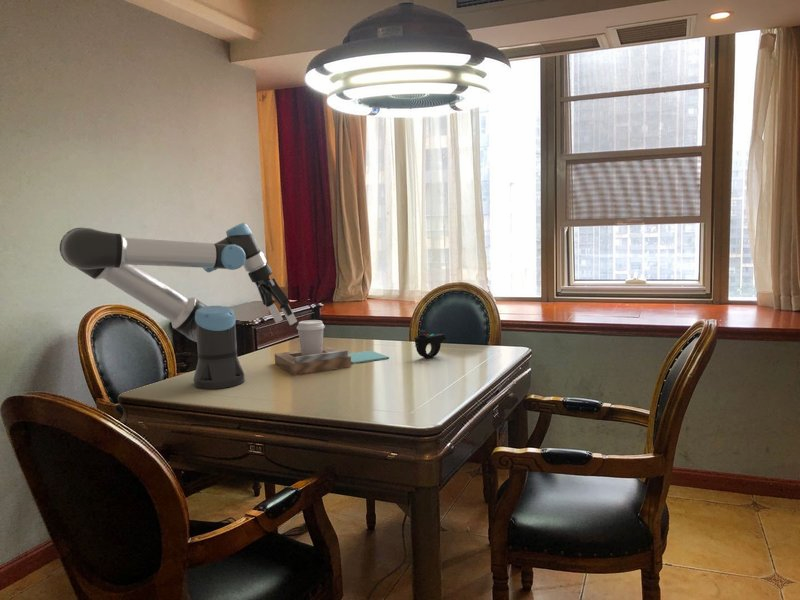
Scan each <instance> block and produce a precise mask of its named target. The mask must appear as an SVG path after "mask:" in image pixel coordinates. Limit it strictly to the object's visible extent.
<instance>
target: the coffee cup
mask: <svg viewBox="0 0 800 600" xmlns="http://www.w3.org/2000/svg"><path fill="white" fill-rule="evenodd" d="M325 328H326V326H325V324H324V323H323V320H319V319H309V320H301V321H299V322H298V324H297V326H296V330H297V331H298V332H297V334H298V339H299V346H300V350H301V355H302V356H305V355H312V354H320V353H322V351H323V347H324V346H323V344H324V329H325Z"/></svg>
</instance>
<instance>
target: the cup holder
mask: <svg viewBox="0 0 800 600" xmlns="http://www.w3.org/2000/svg"><path fill="white" fill-rule="evenodd" d="M348 354H349V353H348V350H347V349H342V350H336V349H334V348H332V347H329V346H323V351H322V353H320V354H312V355H305V356H302V355H301V349H300V350H294V351H286V352H279V353H274V364H275V365H277V366H279V367H280V368H282V369H283V368H284V369H283V370H285V369H286V370H285V371H287V372H289V373H290V372H291V374H292V373H293V374H292V375H294V374H298V375H301V374H300V373H305V374H309V373H308V372H311V373H316V372H315V371H318V372H322V371H323V370H325V371H330V370H329V369H331V370H336V369H335V368H338V369H343V368H342V367H345V368H351V367H352V363H351V356H349V355H348ZM350 366H351V367H350ZM323 372H324V371H323Z"/></svg>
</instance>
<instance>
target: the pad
mask: <svg viewBox="0 0 800 600" xmlns="http://www.w3.org/2000/svg"><path fill="white" fill-rule="evenodd" d="M348 355H349V356H351V365H355V364H354V363H357V364H361V363H360V362H363V363H368V362H369V361H370V362H375V361H382V360H384V361H385V360H389V359H390V356H387V355H385V354H382V353H380V352H376V351H374V350H366V351H359V352H352V353H351V352H350V353H348Z"/></svg>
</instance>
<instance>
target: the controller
mask: <svg viewBox="0 0 800 600" xmlns="http://www.w3.org/2000/svg"><path fill="white" fill-rule="evenodd" d="M418 332H419V334H418V335H417V336H414V344H415V345H414V347H415V349H416V352H417V353H418V355H419V356H420V357H422V358H425V359H432V358H434V357H437V355H438V354H439V352H440V350H441V343H443V342H444V341H445V340H447V337H446V334H444V333H431V334H429V333H428V334H426V330H421V329H420V330H419V331H418ZM429 344H430V351H429V352H428V353H427V346H428V345H429Z"/></svg>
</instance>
